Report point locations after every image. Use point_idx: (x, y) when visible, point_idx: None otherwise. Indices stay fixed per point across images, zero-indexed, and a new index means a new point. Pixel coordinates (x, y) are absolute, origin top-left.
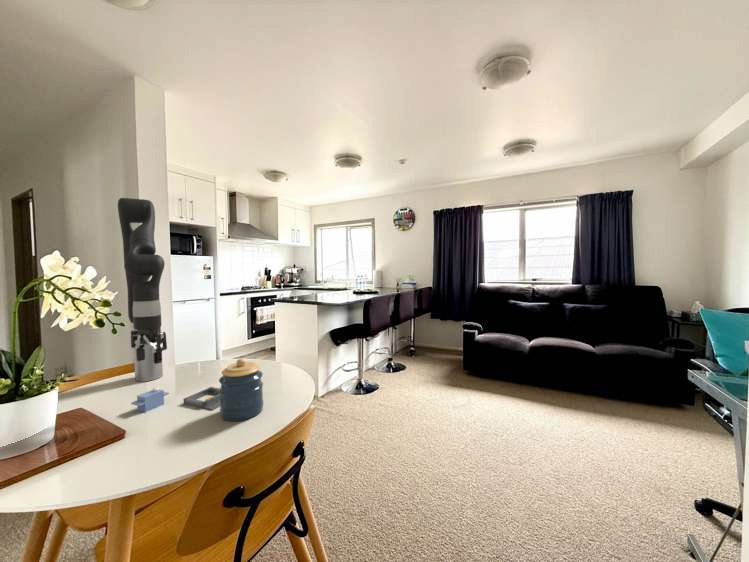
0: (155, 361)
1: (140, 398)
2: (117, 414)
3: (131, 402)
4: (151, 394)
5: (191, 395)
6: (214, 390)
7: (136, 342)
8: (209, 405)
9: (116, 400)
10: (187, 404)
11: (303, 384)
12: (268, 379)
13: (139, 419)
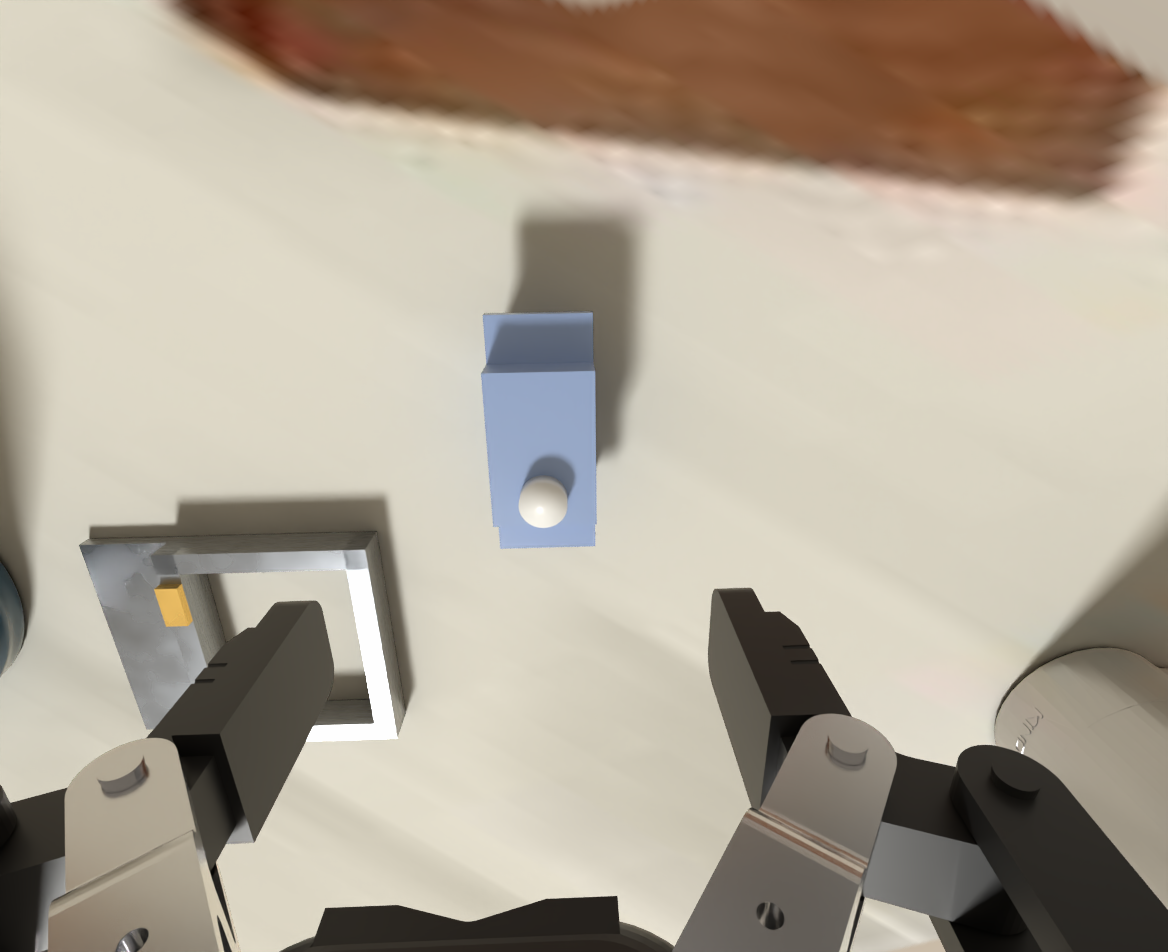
0: (266, 623)
1: (547, 368)
2: (664, 240)
3: (592, 314)
4: (496, 435)
5: (372, 605)
6: (339, 716)
7: (811, 902)
8: (147, 566)
9: (933, 389)
10: (335, 532)
11: None
12: (246, 929)
13: (409, 254)
